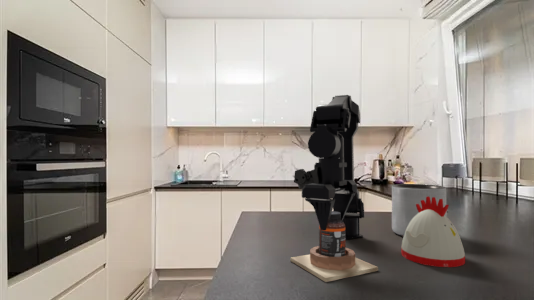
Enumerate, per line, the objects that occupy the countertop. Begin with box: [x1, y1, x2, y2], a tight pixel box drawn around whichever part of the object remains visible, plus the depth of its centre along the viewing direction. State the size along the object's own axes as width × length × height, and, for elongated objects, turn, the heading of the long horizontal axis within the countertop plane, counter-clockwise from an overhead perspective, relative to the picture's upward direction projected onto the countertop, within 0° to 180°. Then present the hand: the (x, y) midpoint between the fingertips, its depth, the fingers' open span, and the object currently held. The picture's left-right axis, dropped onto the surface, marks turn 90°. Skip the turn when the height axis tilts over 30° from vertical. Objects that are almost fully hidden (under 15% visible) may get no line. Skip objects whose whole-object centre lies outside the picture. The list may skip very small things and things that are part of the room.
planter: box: [391, 183, 448, 237], centre depth 99 cm, size 16×16×16 cm
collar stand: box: [290, 245, 379, 283], centre depth 70 cm, size 14×14×3 cm
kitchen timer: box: [400, 196, 466, 268], centre depth 76 cm, size 14×14×15 cm
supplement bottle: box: [318, 210, 347, 257], centre depth 70 cm, size 6×6×11 cm
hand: (331, 226), depth 70 cm, fingers open, 9 cm apart
